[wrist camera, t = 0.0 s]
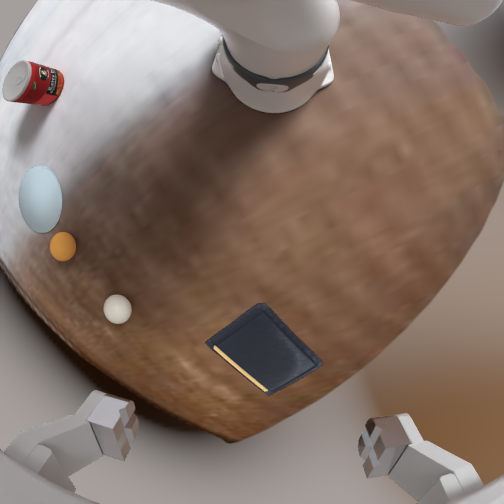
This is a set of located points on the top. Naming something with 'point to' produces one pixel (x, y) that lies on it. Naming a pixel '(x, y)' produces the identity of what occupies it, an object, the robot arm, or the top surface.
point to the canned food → (32, 84)
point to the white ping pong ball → (117, 309)
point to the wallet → (264, 350)
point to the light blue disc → (40, 199)
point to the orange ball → (63, 246)
